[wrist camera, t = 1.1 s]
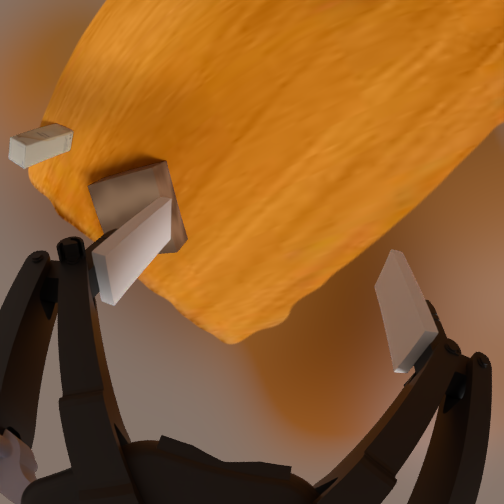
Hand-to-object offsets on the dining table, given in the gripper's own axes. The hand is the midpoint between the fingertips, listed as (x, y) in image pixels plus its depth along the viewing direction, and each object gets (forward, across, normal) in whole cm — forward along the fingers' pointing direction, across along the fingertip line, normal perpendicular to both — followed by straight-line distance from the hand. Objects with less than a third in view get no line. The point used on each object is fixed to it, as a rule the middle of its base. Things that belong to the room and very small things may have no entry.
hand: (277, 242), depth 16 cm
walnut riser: (+26, -24, -13) cm, 38 cm away
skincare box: (+26, -44, -1) cm, 51 cm away
